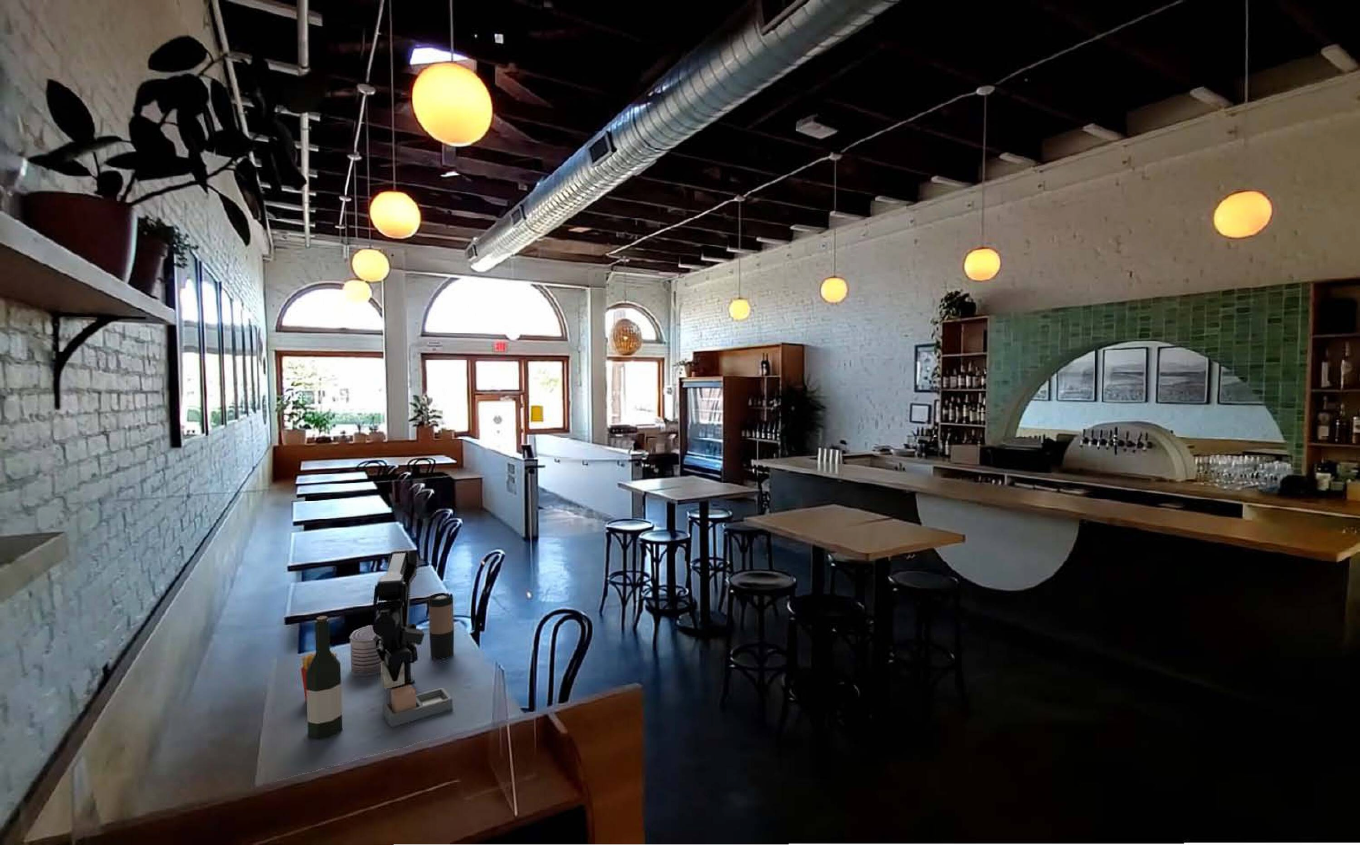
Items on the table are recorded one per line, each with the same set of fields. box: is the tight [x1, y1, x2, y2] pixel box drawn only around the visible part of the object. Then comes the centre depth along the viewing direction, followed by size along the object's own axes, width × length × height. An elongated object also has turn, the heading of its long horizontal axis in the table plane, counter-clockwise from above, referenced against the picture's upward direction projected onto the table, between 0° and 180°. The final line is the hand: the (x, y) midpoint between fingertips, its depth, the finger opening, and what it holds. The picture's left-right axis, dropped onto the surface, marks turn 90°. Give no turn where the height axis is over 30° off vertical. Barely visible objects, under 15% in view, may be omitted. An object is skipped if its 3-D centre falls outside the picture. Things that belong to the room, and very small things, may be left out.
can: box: [348, 624, 382, 677], centre depth 205 cm, size 11×11×12 cm
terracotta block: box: [390, 684, 417, 714], centre depth 175 cm, size 5×5×6 cm
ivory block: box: [380, 661, 405, 690], centre depth 183 cm, size 5×5×6 cm
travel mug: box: [428, 592, 455, 660], centre depth 215 cm, size 8×8×20 cm
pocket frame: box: [382, 687, 454, 728], centre depth 178 cm, size 8×16×3 cm, turn 127°
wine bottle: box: [306, 615, 343, 740], centre depth 167 cm, size 8×8×30 cm
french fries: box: [300, 652, 338, 702], centre depth 185 cm, size 9×4×13 cm, turn 99°
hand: (392, 677), depth 183 cm, fingers closed on ivory block, 5 cm apart
